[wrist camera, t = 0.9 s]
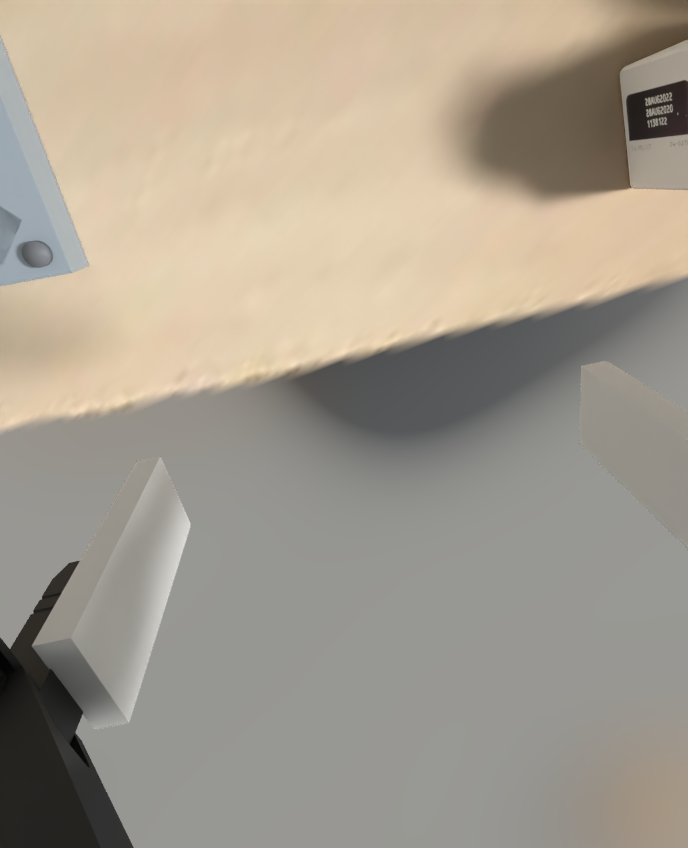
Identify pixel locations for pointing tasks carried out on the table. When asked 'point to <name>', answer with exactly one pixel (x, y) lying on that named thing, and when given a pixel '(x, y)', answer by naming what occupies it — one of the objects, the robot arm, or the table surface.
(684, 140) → the container
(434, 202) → the table surface
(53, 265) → the jig
